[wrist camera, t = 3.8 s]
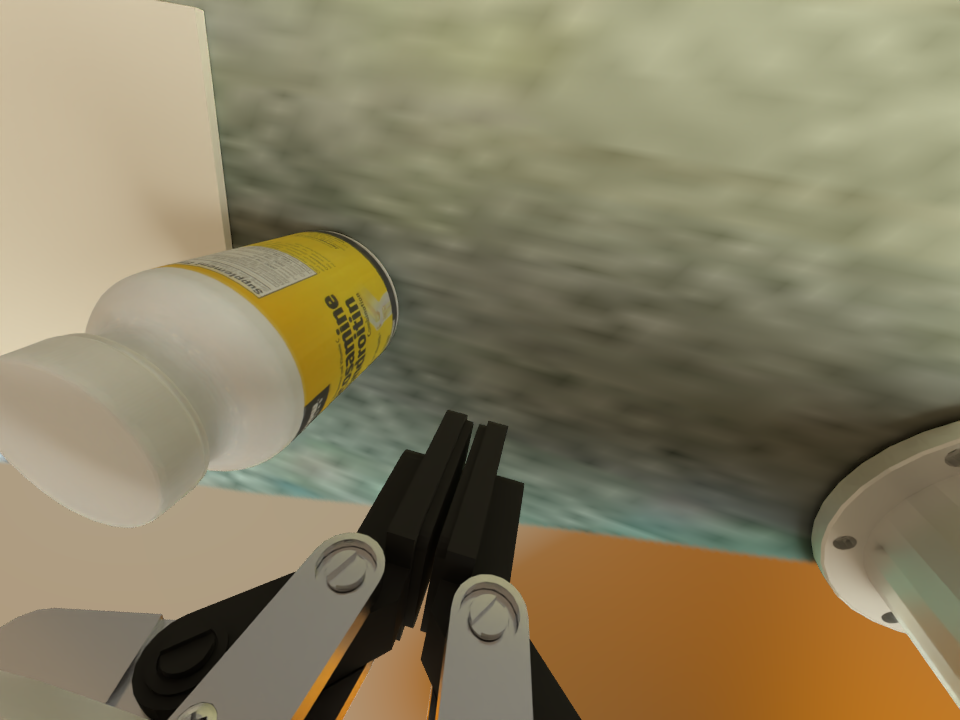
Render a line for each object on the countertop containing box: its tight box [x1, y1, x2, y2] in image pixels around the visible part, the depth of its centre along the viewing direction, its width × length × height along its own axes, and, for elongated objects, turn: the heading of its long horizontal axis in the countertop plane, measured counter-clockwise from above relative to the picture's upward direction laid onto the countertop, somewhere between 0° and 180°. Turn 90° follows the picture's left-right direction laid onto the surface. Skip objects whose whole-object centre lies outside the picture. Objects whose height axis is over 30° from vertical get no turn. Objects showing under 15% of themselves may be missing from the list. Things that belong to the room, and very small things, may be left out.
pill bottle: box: [0, 230, 399, 528], centre depth 14 cm, size 6×6×12 cm
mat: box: [0, 0, 233, 356], centre depth 21 cm, size 24×20×1 cm
